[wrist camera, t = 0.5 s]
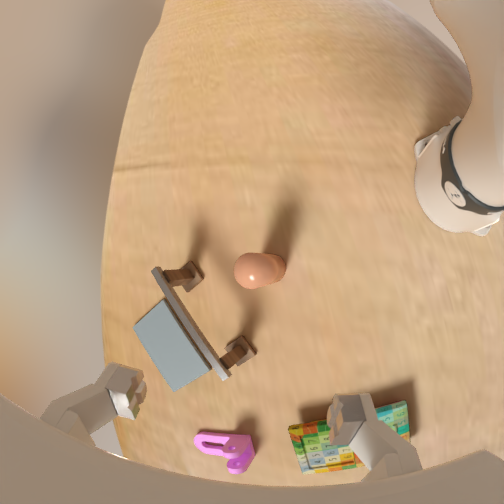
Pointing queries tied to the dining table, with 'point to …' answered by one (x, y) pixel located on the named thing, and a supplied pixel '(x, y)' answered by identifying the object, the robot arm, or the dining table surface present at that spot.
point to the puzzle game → (340, 456)
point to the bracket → (228, 449)
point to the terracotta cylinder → (258, 269)
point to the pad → (170, 347)
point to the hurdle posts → (189, 279)
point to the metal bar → (190, 324)
